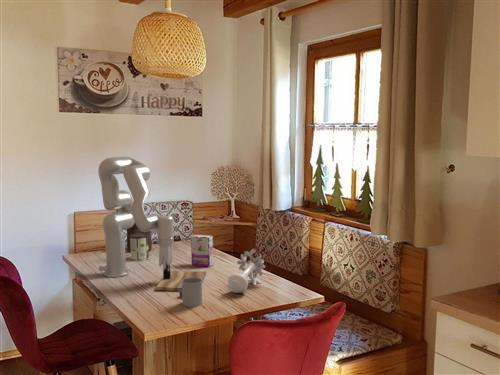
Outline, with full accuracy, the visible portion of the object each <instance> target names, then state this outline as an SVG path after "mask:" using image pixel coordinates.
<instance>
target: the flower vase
mask: <svg viewBox="0 0 500 375" xmlns="http://www.w3.org/2000/svg"><path fill="white" fill-rule="evenodd" d="M256 251H257V249H255V248H252V249H251V250H249V251H248V250H245V251H243V254H240V259H239V260H237V262H236V264H237V265H239V267H238V270H242V272H241V273H237V272H235V273H233V274H231V275H230V276H229V277H228V281H227V282H228V284H227V285H228V287H229V288H228V289H229V290H230V291H231V292H232V293H235V294H237V293H238V294H239V293H241V294H242V293H245V291H246V290H247V289H248V287H249V284H251V283H252V285H253V286H256V285H257V283H259V284H263V283H262V281H259V279H257V277H258V275H260V276H262V275H263V271H262V270H264V269H265V268H266V265H264V263H265V261H264V259H263V258H262V254H261V253H259V256H256V257H255V258H254V256H253V254H254V253H255V252H256ZM247 257H249V260H247Z"/></svg>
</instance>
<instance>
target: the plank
mask: <svg viewBox="0 0 500 375" xmlns="http://www.w3.org/2000/svg"><path fill="white" fill-rule="evenodd" d="M170 273H171V278H170V279H163V278H161V280H160V281H159V283H157V285H156V286H155V288H156V290H157V291H171V292H173V291H174V292H177V286H178V285H179V283H180V281H181V280H182V278H183V276H184V275H185V273H186V271H182V270H170Z"/></svg>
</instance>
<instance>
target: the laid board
mask: <svg viewBox="0 0 500 375" xmlns="http://www.w3.org/2000/svg"><path fill="white" fill-rule="evenodd" d="M206 275H207V271H204V270H203V271H199V270H198V271H197V270H196V271H192V270H191V271H190V270H189V271H188V270H187V271H186V273H185V275H184V276H183V278H182V280H183V279H186V278H200V279H202V283H203V282H204V281H205V280H204V279H205V277H206ZM182 280H181V281H180V283H179V285H178V286H177V290H176V292H179V291H180V290H182Z"/></svg>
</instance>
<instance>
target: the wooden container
mask: <svg viewBox="0 0 500 375" xmlns="http://www.w3.org/2000/svg"><path fill="white" fill-rule="evenodd" d="M137 233H145V234H148V250H149V252H150V250H151V249H152V231H148V232H143V231H141V230H139V228H138V227H137V225H136V223H135V222H134V225H133V226H132V227H131V228H129V229H126V250H127V252H128V251H129V252H128V253H131V246H130V235H132V234H137ZM152 250H153V249H152ZM152 250H151V251H152Z"/></svg>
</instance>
